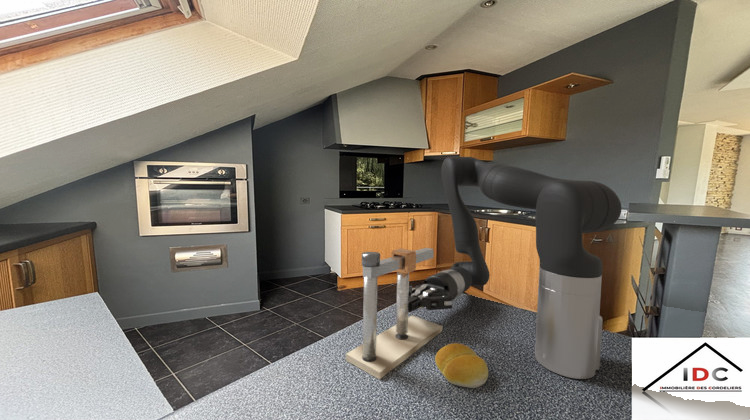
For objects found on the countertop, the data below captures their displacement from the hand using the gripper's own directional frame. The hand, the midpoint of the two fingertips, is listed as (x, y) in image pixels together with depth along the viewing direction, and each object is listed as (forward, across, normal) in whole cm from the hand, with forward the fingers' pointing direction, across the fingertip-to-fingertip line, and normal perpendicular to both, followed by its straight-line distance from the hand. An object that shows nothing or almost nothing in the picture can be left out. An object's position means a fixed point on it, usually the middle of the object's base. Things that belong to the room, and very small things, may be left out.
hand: (405, 307), depth 59 cm
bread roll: (+2, +13, +8) cm, 15 cm away
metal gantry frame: (+2, 0, +6) cm, 6 cm away
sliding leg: (+1, 0, +5) cm, 6 cm away
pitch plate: (+3, 0, +7) cm, 8 cm away
